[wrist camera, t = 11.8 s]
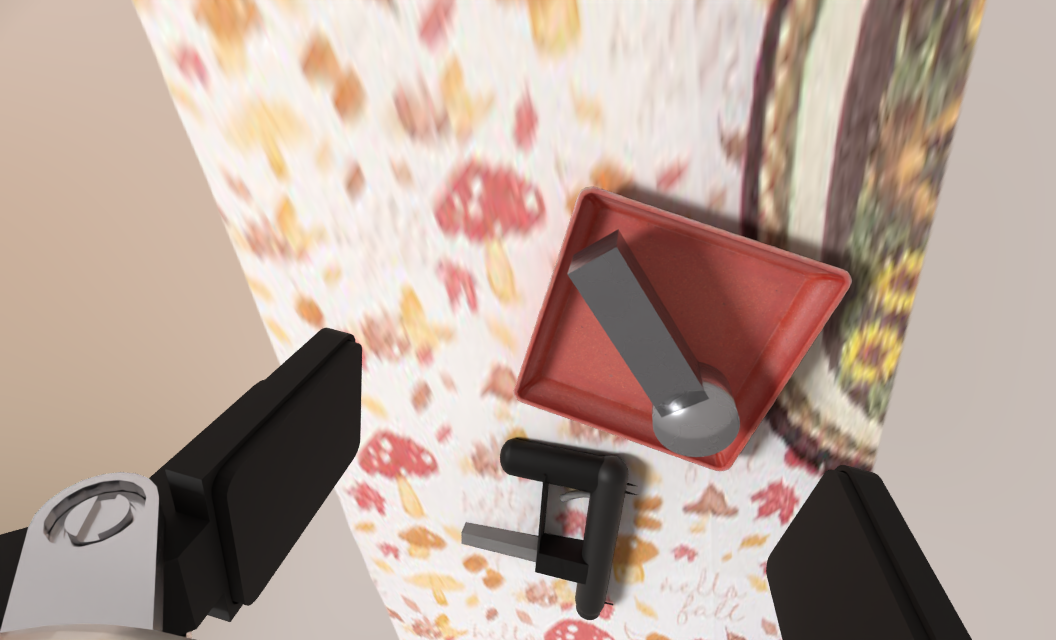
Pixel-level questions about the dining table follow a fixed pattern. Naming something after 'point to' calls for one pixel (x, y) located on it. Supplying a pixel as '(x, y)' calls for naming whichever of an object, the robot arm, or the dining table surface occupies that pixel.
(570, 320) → the plant saucer
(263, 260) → the dining table surface
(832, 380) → the dining table surface
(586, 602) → the door handle
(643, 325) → the ball joint lever
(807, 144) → the dining table surface
